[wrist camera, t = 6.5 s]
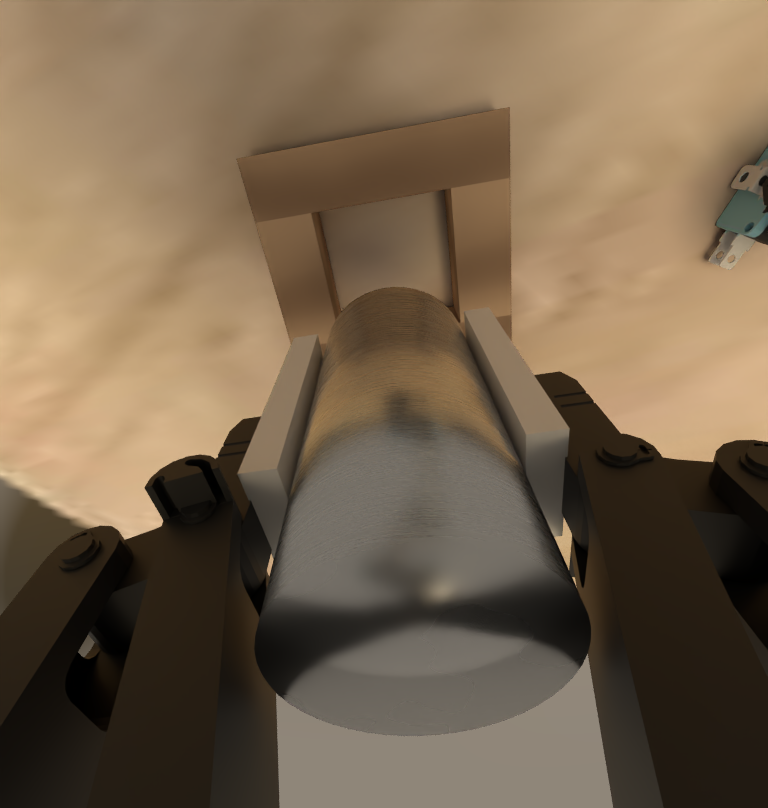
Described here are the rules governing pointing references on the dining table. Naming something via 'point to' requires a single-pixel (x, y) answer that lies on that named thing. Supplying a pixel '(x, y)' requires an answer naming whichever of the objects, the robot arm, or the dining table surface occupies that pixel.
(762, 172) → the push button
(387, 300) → the tan grey cylinder
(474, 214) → the jig
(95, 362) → the dining table surface
